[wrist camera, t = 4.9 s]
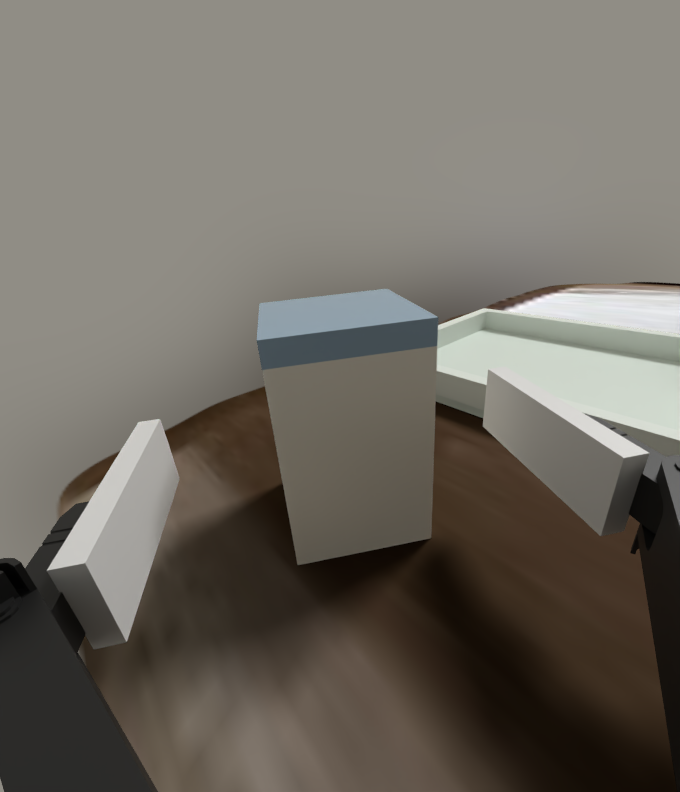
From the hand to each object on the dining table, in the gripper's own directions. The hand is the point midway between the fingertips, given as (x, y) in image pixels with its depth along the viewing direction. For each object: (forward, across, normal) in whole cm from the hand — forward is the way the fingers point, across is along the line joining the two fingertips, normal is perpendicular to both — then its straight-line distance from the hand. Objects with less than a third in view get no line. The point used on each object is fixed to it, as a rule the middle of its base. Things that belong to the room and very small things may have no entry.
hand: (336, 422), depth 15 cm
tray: (+12, +19, -6) cm, 23 cm away
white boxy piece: (+2, +1, -6) cm, 6 cm away
